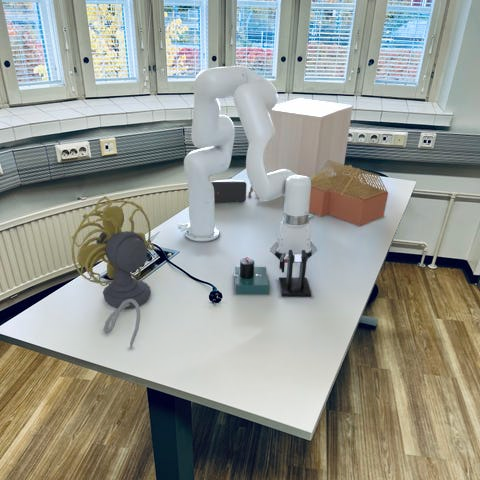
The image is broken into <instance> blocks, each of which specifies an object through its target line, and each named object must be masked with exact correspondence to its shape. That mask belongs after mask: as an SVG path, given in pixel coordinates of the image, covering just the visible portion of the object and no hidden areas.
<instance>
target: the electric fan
mask: <svg viewBox="0 0 480 480" xmlns="http://www.w3.org/2000/svg"><path fill="white" fill-rule="evenodd" d="M104 200H106V201H107V202H104V203H102V204H100V203H101V202H102V201H104ZM113 203H114V204H115V203H122V204H121V205H120V206H118V205H112V204H113ZM127 204H130V205H131V206H134V207H135V209H133V211H132V213H131V215H130V216H129V217H128V220H129V222H130V225H131V226H130V230H129V231H127V230H126V231H122V228H123V225H124V222H125V214H124V209H123V207H124V206H126V205H127ZM102 207H104V208H103V209H102V210H101V208H102ZM99 209H100V210H99ZM138 211H140V212H141V214H143V216H144V219H145V220H146V223H147V228H148V236H147V237H148V238H147V239H146V235H145V233H143V232H135V221H134V215H135V214H136V212H138ZM94 216H95V217H99V218H96V220H93V221H90V217H94ZM82 218H83V219H82V220H81V222H80V224H79V225H78V227H77V229H76V231H75V233H74V234H73V235H72V236H71V240H72V245H71V259H72V260H71V261H72V262H73V266H74V267H75V269H76V271H77V272H78V273H79V275H80V276H82V278H83V279H84V280H87V281H89V282H90V283H96V284H100V286H102V287H104V289H103V291H102V295H103V298H104V301H105V302H106V303H107V304H108V305H109V306H110V307H112V308H115V310H114V311H112V312H111V313H110V315H109V316H108V317H107V319H106V320H105V323H104V325H103V332H104V333H105V334H109V333H111V332H112V331H113V329H114V327H115V326H116V324H117V321H118V318H119V316H120V315H121V312H122V310H131V309H133V310H134V309H135V313H136V316H135V326H134V330H133V332H132V335H131V338H130V342H129V348H130V349H132V347H133V345H134V343H135V340H136V337H137V335H138V332H139V329H140V323H141V308H140V307H141V306H144V305H145V304H146V303H147V302H148V301H150V298H151V293H152V291H151V287H150V286H149V284H148V283H147V282H145V281H143V280H140V279H137V278H139V277H140V276H141V273H142V269H141V267H142V266H144V265H145V264H146V263H147V260H148V250H149V251H153V250H154V249H155V245H154V243H153V242H151V231H152V230H151V229H152V228H151V224H150V220H149V218H148V215H147V214H146V212H145V211H144V209H143V207H142V205H139V204H138V203H136V202H135V201H133V200H130V201H129V200H124V199H123V200H122V199H121V200H111V199H110V198H108V197H107V196H106V195H105V196H103V197H102V198H100V199H99V200H98V201H97V202H96V205H95V207H94V209H93V210H92V211H90V212H89V213H88V214H87V213H83V215H82ZM86 221H87V222H86ZM101 221H102V224H101V223H98V222H101ZM85 222H86V223H85ZM90 226H91V227H97V228H95V229H92V230H90V232H88V233H87V234H86V236H85V237H84V238H83V239H82V242H81V243H80V244H78V243H77V241H76V240H77V237H78V234H79V233H80V232H81V231H82V230H83V229H85V228H87V227H90ZM95 233H96V234H97V233H100V234H99V236H94V237H92V238H90V236H92V235H94V234H95ZM87 239H88V240H87ZM95 241H96V243H93V242H95ZM91 243H92V244H91ZM75 246H76V247H78V248H80V249H79V250H78V251H77V257H75ZM150 246H151V247H150ZM76 259H77V263H78V265H79V266H78V265H77V263H76ZM100 260H102V261H103V262H104V263H106V274H107V276H108V278H109V279H110V280H103V281H102V280H101V274H100V273H98V272H94V271H93V270H94V264H96V263H97V262H99V261H100ZM79 267H80V268H79ZM84 268H85V270H86V273H87V274H88V276H89V277H88V276H86V275H85V274H84V273H83V271H84ZM137 270H138V272H137V274H136V275H135V274H133V272H135V271H137ZM96 276H98V278H97V277H96ZM108 283H109V284H108ZM111 321H112V322H111ZM110 323H111V324H110Z"/></svg>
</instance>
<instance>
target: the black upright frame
mask: <svg viewBox="0 0 480 480" xmlns="http://www.w3.org/2000/svg"><path fill="white" fill-rule="evenodd" d="M293 255H294V254H293V252H292V250H289V253H288V255H287V257H286V259H287V261H288V263H287V267H286V275H285V276H286V277H282V276H281V277H278V284H279V289H280V295H281V297H283V298H284V297H285V298H300V297H301V298H311V297H312V291H311V288H310V285H309V281H308V278H307V277H306V271H307V270H306V269H307V263H308V260H309V258H308V257H307V254H306V251H305V250H302V262H301V263H299V273H298V274H299V275H298V276H297V277H293V268H294V263H293V259H294V256H293Z"/></svg>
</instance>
